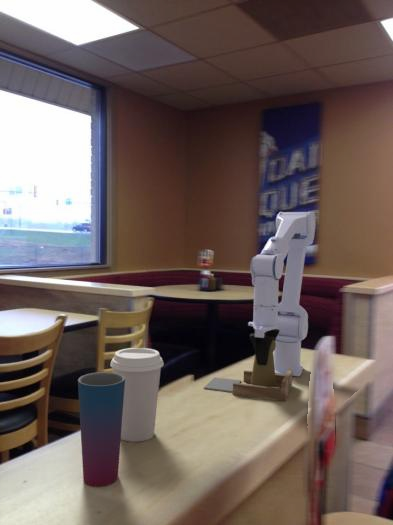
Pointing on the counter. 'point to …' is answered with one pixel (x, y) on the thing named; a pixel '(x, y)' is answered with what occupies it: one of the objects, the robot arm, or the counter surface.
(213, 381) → the mat
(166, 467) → the counter surface
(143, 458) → the counter surface
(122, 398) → the cup
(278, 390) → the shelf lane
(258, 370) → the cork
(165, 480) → the counter surface
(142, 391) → the coffee cup
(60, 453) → the counter surface
